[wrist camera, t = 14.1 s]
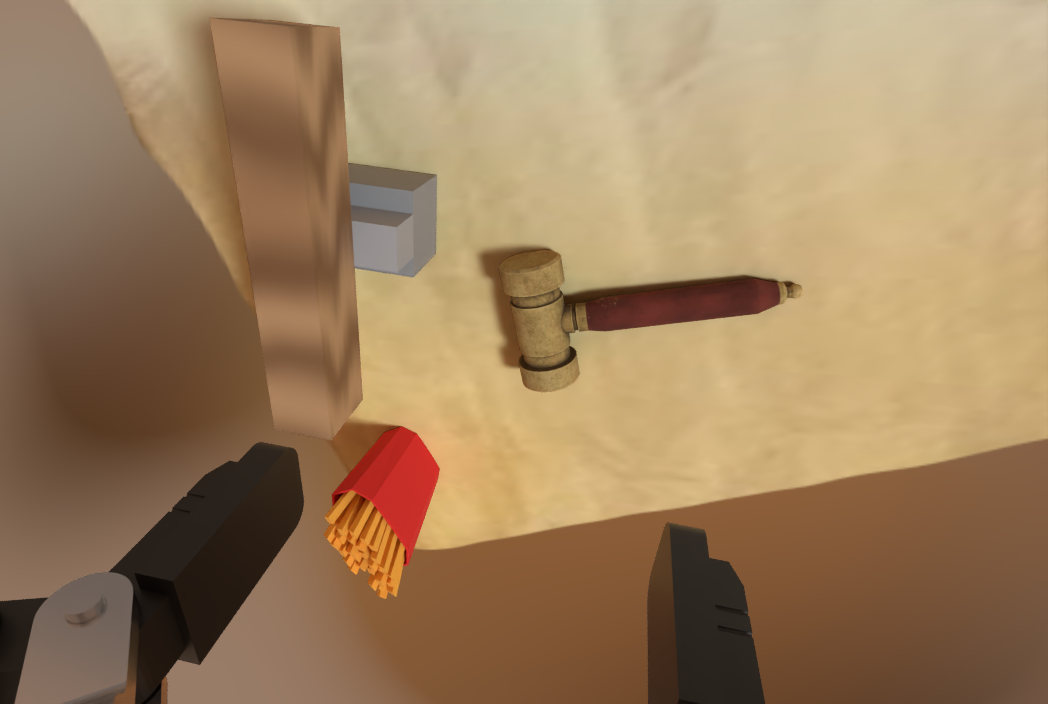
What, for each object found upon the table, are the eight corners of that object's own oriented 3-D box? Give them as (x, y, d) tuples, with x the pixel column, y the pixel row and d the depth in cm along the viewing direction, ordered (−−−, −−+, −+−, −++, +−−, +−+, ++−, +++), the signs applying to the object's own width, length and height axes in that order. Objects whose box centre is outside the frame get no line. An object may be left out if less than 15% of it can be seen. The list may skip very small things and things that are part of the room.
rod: (269, 20, 31) (209, 17, 27) (339, 27, 31) (290, 26, 26) (311, 390, 43) (274, 430, 39) (362, 399, 43) (331, 440, 38)
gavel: (817, 230, 36) (810, 368, 41) (795, 211, 40) (791, 338, 45) (493, 274, 40) (519, 396, 44) (502, 253, 44) (526, 367, 48)
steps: (306, 157, 43) (242, 181, 36) (436, 174, 42) (395, 203, 35) (314, 235, 46) (256, 271, 39) (435, 253, 45) (397, 294, 38)
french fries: (370, 427, 54) (299, 529, 43) (406, 414, 53) (343, 517, 42) (418, 498, 58) (364, 610, 47) (454, 488, 56) (407, 602, 45)
